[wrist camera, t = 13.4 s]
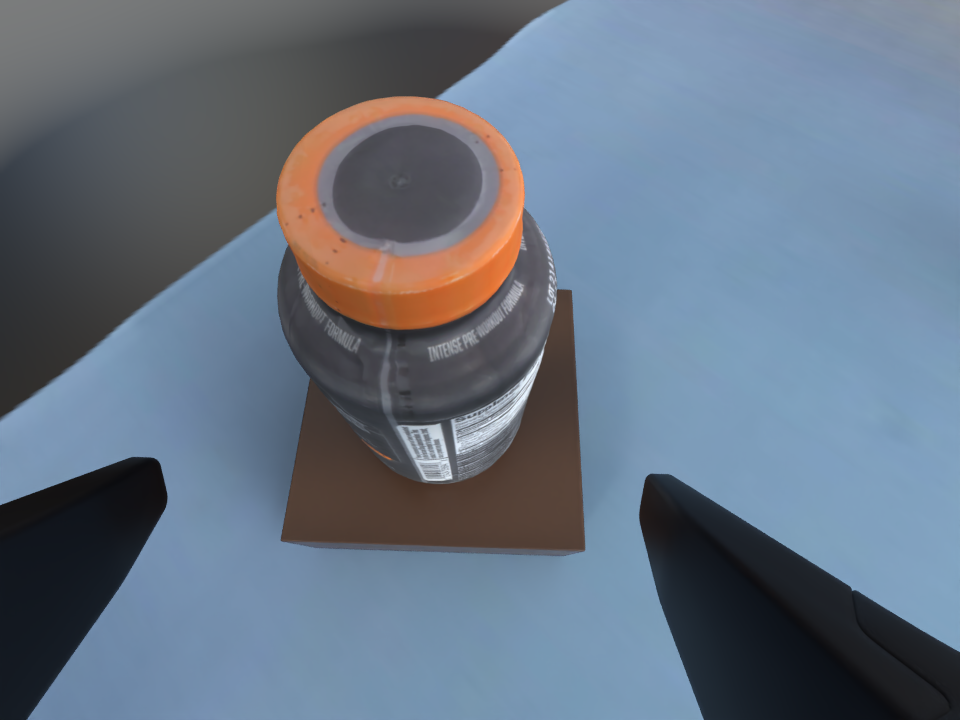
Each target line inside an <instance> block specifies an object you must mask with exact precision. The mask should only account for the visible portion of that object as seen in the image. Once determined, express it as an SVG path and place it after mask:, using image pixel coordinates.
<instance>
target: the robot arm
mask: <svg viewBox="0 0 960 720" xmlns="http://www.w3.org/2000/svg"><path fill="white" fill-rule="evenodd" d="M166 505H167V491H166V486H165V482H164V478H163V473H162V469H161V465H160V463H159V461H158V460H157V459H155V458H150V457H131V458H128V459H125V460H122V461H120V462H117V463H114V464H111V465H109V466H106V467H103V468H100V469H98V470H95V471H92V472H90V473H87V474H84V475H81V476H79V477H76V478H73V479H70V480H68V481H65V482H62V483H60V484H57V485H54V486H51V487H49V488H46V489H43V490H40V491H38V492H35V493H32V494H30V495H27V496H24V497H21V498H19V499H16V500H13V501H10V502H8V503H5V504H2V505H0V720H27V719H28V717H29V716H30V714H31V713H32V711H33V710H34V709H35V707H36V706H37V704H38V703H39V701H40V700H41V699H42V697H43V696H44V694H45V693H46V692H47V690H48V689H49V687H50V686H51V684H52V683H53V682H54V680H55V679H56V677H57V676H58V674H59V673H60V672H61V670H62V669H63V667H64V666H65V665H66V663H67V662H68V660H69V659H70V657H71V656H72V655H73V653H74V652H75V650H76V649H77V647H78V646H79V645H80V643H81V642H82V640H83V639H84V638H85V636H86V635H87V633H88V632H89V630H90V629H91V628H92V626H93V625H94V623H95V622H96V620H97V619H98V618H99V616H100V615H101V613H102V612H103V611H104V609H105V608H106V606H107V605H108V603H109V602H110V601H111V599H112V598H113V596H114V595H115V593H116V592H117V590H118V589H119V587H120V586H121V584H122V583H123V581H124V579H125V578H126V576H127V574H128V573H129V571H130V569H131V568H132V566H133V564H134V562H135V561H136V559H137V557H138V555H139V554H140V552H141V550H142V548H143V547H144V545H145V543H146V541H147V540H148V538H149V536H150V534H151V533H152V531H153V529H154V527H155V526H156V524H157V522H158V520H159V519H160V517H161V515H162V513H163V512H164V510H165V508H166ZM639 519H640V525H641V529H642V533H643V537H644V541H645V545H646V549H647V553H648V557H649V561H650V565H651V569H652V573H653V577H654V581H655V585H656V589H657V593H658V596H659V600H660V603H661V606H662V609H663V612H664V614H665V617H666V620H667V622H668V625H669V628H670V630H671V633H672V636H673V638H674V641H675V644H676V646H677V649H678V652H679V654H680V657H681V660H682V662H683V665H684V668H685V670H686V673H687V676H688V678H689V681H690V684H691V686H692V689H693V692H694V694H695V697H696V700H697V702H698V705H699V708H700V710H701V713H702V716H703V718H704V720H960V652H958V651H957V650H955V649H953V648H951V647H950V646H948V645H946V644H944V643H943V642H941V641H939V640H937V639H936V638H934V637H932V636H930V635H929V634H927V633H925V632H923V631H922V630H920V629H918V628H917V627H915V626H913V625H912V624H910V623H908V622H907V621H905V620H903V619H902V618H900V617H898V616H897V615H895V614H894V613H892V612H890V611H889V610H887V609H885V608H884V607H882V606H880V605H879V604H877V603H876V602H874V601H872V600H871V599H869V598H868V597H866V596H864V595H863V594H861V593H860V592H858V591H856V590H854V591H852V589H851V587H850V586H848V585H847V584H845V583H843V582H842V581H840V580H839V579H837V578H835V577H834V576H832V575H831V574H829V573H827V572H826V571H824V570H823V569H821V568H819V567H818V566H816V565H815V564H813V563H811V562H810V561H808V560H807V559H805V558H803V557H802V556H800V555H799V554H797V553H795V552H794V551H792V550H791V549H789V548H787V547H786V546H784V545H783V544H781V543H779V542H778V541H776V540H775V539H773V538H771V537H770V536H768V535H766V534H765V533H763V532H762V531H760V530H758V529H757V528H755V527H754V526H752V525H750V524H749V523H747V522H746V521H744V520H742V519H741V518H739V517H738V516H736V515H734V514H733V513H731V512H730V511H728V510H726V509H725V508H723V507H722V506H720V505H718V504H717V503H715V502H714V501H712V500H710V499H709V498H707V497H706V496H704V495H702V494H701V493H699V492H698V491H696V490H694V489H693V488H691V487H690V486H688V485H686V484H685V483H683V482H682V481H680V480H678V479H677V478H675V477H674V476H672V475H669V474H649V475H648V476H647V477H646V479H645V483H644V488H643V494H642V500H641V505H640V512H639Z"/></svg>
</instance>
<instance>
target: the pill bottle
mask: <svg viewBox="0 0 960 720" xmlns="http://www.w3.org/2000/svg"><path fill="white" fill-rule="evenodd" d="M524 197H525V191H524V180H523V175H522V171H521V168H520V164H519V161H518V159H517V157H516V155H515V153H514V151H513V149H512V148H511V146H510V145H509V143H508V142H507V140H506V139H505V138H504V137H503V135H502V134H501V133H500V132H499V131H498V130H497V129H496V128H495V127H493V126H492V125H491V124H490V123H488V122H487V121H486V120H484V119H483V118H481V117H480V116H478V115H476V114H474V113H472V112H470V111H468V110H467V109H465V108H463V107H461V106H458V105H455V104H452V103H449V102H447V101H443V100H438V99H431V98H424V97H390V98H382V99H375V100H371V101H366V102H363V103H360V104H357V105H354V106H352V107H349V108H347V109H345V110H342V111H340V112H338V113H336V114H334V115H332V116H331V117H329V118H327V119H325V120H324V121H323V122H321V123H320V124H319V125H317V126H316V127H315V128H313V129H312V130H311V131H310V132H308V133H307V134H306V135H305V136H304V137H303V138H302V139H301V140H300V142H299V143H298V144H297V145H296V146H295V148H294V149H293V151H292V152H291V154H290V156H289V157H288V159H287V161H286V163H285V164H284V167H283V169H282V172H281V175H280V177H279V181H278V186H277V195H276V201H277V216H278V220H279V224H280V226H281V229H282V231H283V234H284V236H285V239H286V241H287V243H288V247H287V249H286V251H285V254H284V257H283V260H282V264H281V268H280V272H279V278H278V292H277V298H278V310H279V317H280V320H281V325H282V329H283V332H284V335H285V338H286V340H287V342H288V344H289V346H290V348H291V350H292V352H293V354H294V356H295V358H296V360H297V361H298V362H299V364H300V365H301V366H302V367H303V369H304V370H305V371H306V373H307V374H308V375H309V376H310V378H311V379H312V380H313V382H314V383H315V384H316V385H317V387H318V388H319V389H320V391H321V392H322V393H323V394H324V395H325V397H326V398H327V399H328V400H329V401H330V402H331V403H332V404H333V405H334V407H335V408H336V409H337V410H338V412H339V413H340V414H341V415H342V417H343V418H344V419H345V421H346V422H347V423H348V424H349V425H350V427H351V428H352V429H353V431H354V432H355V433H356V434H357V435H358V436H359V438H360V439H361V440H362V441H363V442H364V443H365V444H366V445H367V446H368V448H369V449H370V450H371V451H372V452H373V453H374V455H375V456H376V457H378V458H379V459H380V460H381V461H382V462H383V463H384V464H385V465H386V466H388V467H389V468H390V469H391V470H393V471H394V472H396V473H398V474H400V475H402V476H404V477H407V478H409V479H412V480H415V481H418V482H424V483H430V484H449V483H454V482H459V481H463V480H466V479H469V478H471V477H474V476H476V475H478V474H479V473H481V472H483V471H485V470H486V469H488V468H489V467H491V466H492V465H493V464H494V463H495V462H496V461H497V460H498V459H499V458H500V457H501V456H502V455H503V454H504V453H505V451H506V450H507V449H508V447H509V446H510V445H511V443H512V441H513V440H514V437H515V435H516V433H517V431H518V429H519V426H520V422H521V419H522V416H523V413H524V409H525V406H526V403H527V400H528V397H529V394H530V391H531V388H532V385H533V382H534V379H535V377H536V374H537V371H538V369H539V366H540V363H541V360H542V356H543V353H544V347H545V344H546V340H547V338H548V335H549V331H550V327H551V324H552V320H553V317H554V312H555V306H556V300H557V280H556V271H555V266H554V262H553V258H552V254H551V251H550V248H549V245H548V243H547V241H546V238H545V236H544V235H543V233H542V232H541V230H540V228H539V226H538V225H537V223H536V222H535V220H534V219H533V217H532V216H531V215H530V214H529V213H528V211H527V210H526V209H525V208H524Z"/></svg>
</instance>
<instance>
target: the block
mask: <svg viewBox="0 0 960 720" xmlns="http://www.w3.org/2000/svg"><path fill="white" fill-rule="evenodd" d="M281 541H283V542H288V543H293V544H299V545H304V546H309V547H314V548H334V549H364V550H395V551H425V552H455V553H485V554H515V555H545V556H566V555H570V554H575V553H579V552H583V551H585V533H584V514H583V495H582V476H581V457H580V438H579V419H578V399H577V380H576V361H575V342H574V323H573V304H572V291H571V290H559V289H557V300H556V306H555V312H554V317H553V320H552V324H551V327H550V331H549V335H548V338H547V340H546V344H545V347H544V353H543V356H542V360H541V363H540V366H539V369H538V371H537V374H536V377H535V379H534V382H533V385H532V388H531V391H530V394H529V397H528V400H527V403H526V406H525V409H524V413H523V416H522V419H521V422H520V426H519V429H518V431H517V433H516V435H515V437H514V440H513V441H512V443H511V445H510V446H509V447H508V449H507V450H506V451H505V453H504V454H503V455H502V456H501V457H500V458H499V459H498V460H497V461H496V462H495V463H494V464H493V465H492V466H491V467H489V468H488V469H486V470H485V471H483V472H481V473H479V474H478V475H476V476H474V477H471V478H469V479H466V480H463V481H459V482H454V483H449V484H430V483H424V482H418V481H415V480H412V479H409V478H407V477H404V476H402V475H400V474H398V473H396V472H394V471H393V470H391V469H390V468H389V467H388V466H386V465H385V464H384V463H383V462H382V461H381V460H380V459H379V458H378V457H376V456H375V455H374V453H373V452H372V451H371V450H370V449H369V448H368V446H367V445H366V444H365V443H364V442H363V441H362V440H361V439H360V438H359V436H358V435H357V434H356V433H355V432H354V431H353V429H352V428H351V427H350V425H349V424H348V423H347V422H346V421H345V419H344V418H343V417H342V415H341V414H340V413H339V412H338V410H337V409H336V408H335V407H334V405H333V404H332V403H331V402H330V401H329V400H328V399H327V398H326V397H325V395H324V394H323V393H322V392H321V391H320V389H319V388H318V387H317V385H316V384H315V383H314V382H313V380H312V379H311V378H310V382H309V387H308V393H307V398H306V404H305V409H304V415H303V420H302V426H301V431H300V437H299V442H298V448H297V453H296V459H295V464H294V470H293V475H292V481H291V486H290V492H289V497H288V502H287V508H286V513H285V519H284V524H283V530H282V535H281Z"/></svg>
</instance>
